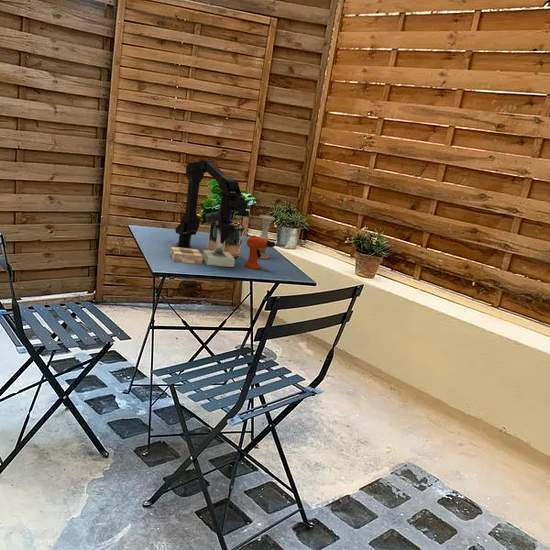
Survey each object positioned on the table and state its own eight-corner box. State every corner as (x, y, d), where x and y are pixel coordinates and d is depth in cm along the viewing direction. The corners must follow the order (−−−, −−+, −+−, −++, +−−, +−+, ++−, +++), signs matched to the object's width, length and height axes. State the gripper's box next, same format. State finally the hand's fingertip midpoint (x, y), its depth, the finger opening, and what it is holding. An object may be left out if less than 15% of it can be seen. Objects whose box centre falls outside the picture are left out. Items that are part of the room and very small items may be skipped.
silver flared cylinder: (213, 251, 243) (217, 227, 241) (222, 252, 245) (226, 228, 242) (215, 254, 240) (219, 229, 237) (224, 254, 241) (228, 230, 238)
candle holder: (248, 254, 269) (255, 213, 264) (264, 254, 273) (271, 215, 268) (256, 259, 262) (263, 217, 256) (272, 259, 266) (279, 219, 261)
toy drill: (281, 273, 237) (283, 239, 234) (242, 268, 244) (243, 235, 241) (285, 271, 242) (287, 238, 239) (247, 266, 249) (248, 233, 245)
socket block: (169, 254, 242) (170, 246, 241) (196, 256, 246) (197, 249, 245) (173, 261, 231) (174, 253, 230) (201, 264, 235) (202, 256, 234)
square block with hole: (202, 257, 247) (203, 249, 246) (227, 259, 251) (228, 252, 250) (207, 264, 236) (208, 256, 235) (233, 267, 240) (235, 259, 239)
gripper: (203, 201, 243) (198, 235, 247) (212, 209, 226) (207, 246, 230) (227, 204, 246) (222, 238, 250) (238, 213, 230) (232, 248, 234)
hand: (220, 242), depth 241 cm, fingers closed on silver flared cylinder, 4 cm apart
